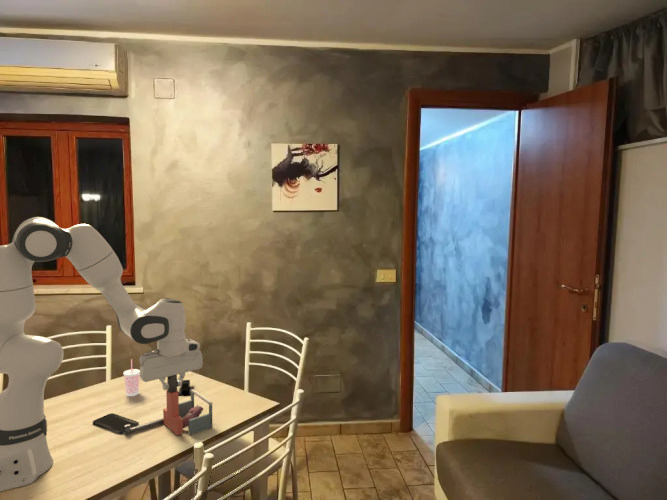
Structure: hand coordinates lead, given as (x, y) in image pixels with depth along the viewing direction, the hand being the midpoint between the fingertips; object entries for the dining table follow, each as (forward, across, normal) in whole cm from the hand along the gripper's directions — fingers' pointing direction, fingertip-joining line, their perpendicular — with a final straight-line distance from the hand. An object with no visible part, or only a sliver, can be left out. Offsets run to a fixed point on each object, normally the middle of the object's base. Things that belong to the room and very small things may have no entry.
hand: (172, 387), depth 152 cm
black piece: (+15, +17, +27) cm, 35 cm away
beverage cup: (+15, 0, +38) cm, 41 cm away
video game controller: (+15, +6, 0) cm, 16 cm away
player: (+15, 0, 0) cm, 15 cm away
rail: (+15, -6, +6) cm, 17 cm away
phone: (+15, -13, +16) cm, 26 cm away
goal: (+15, +7, 0) cm, 16 cm away
